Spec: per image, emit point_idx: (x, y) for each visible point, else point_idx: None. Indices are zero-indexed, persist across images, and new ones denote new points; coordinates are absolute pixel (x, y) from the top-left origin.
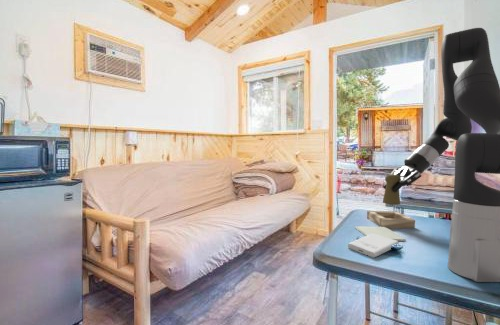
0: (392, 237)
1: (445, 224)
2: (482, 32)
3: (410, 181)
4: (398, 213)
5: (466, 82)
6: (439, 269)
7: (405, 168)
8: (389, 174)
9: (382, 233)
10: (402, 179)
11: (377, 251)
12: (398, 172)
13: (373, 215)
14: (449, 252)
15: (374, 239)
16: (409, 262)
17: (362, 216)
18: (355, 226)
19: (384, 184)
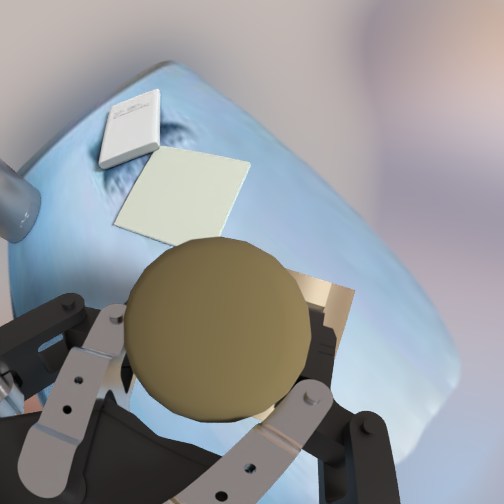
0: (136, 199)
1: None
2: None
3: (55, 360)
4: (268, 409)
5: None
6: (47, 179)
7: (54, 486)
8: (237, 289)
9: (167, 195)
10: (93, 330)
11: (109, 113)
12: (204, 473)
13: (293, 272)
14: (24, 180)
15: (133, 127)
16: (76, 153)
17: (372, 296)
18: (249, 162)
19: (321, 325)
